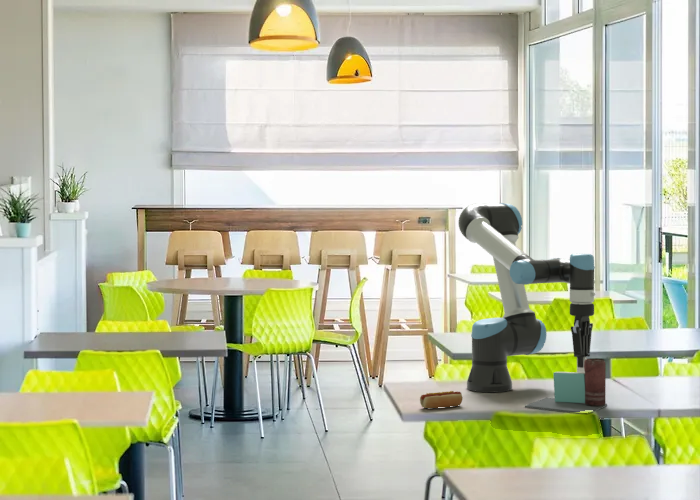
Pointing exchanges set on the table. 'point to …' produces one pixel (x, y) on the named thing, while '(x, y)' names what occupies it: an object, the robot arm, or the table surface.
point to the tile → (569, 387)
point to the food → (441, 399)
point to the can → (595, 382)
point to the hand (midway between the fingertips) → (581, 377)
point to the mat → (560, 406)
